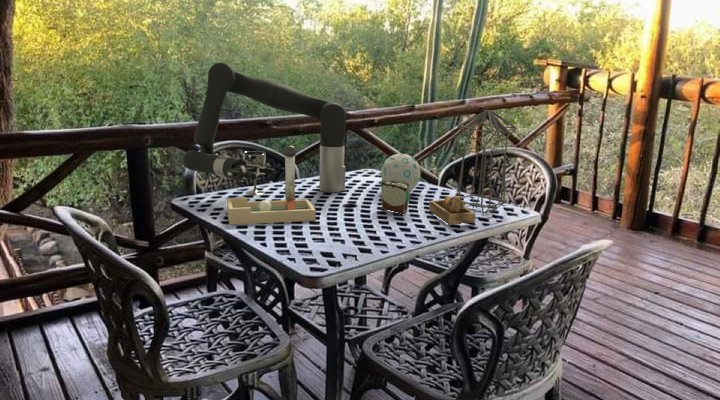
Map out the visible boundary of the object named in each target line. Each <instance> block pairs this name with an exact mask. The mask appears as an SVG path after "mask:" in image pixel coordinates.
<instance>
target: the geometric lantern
mask: <svg viewBox="0 0 720 400" xmlns="http://www.w3.org/2000/svg"><path fill="white" fill-rule="evenodd" d="M487 116H488V120H489V121H488V122H489V124H488V123H485V122H484V121H485V120H486V118H487ZM499 119H500V120H502V122H504V123H506V124H508V125H509V126H505V125H503V124H502V122H501V121H500V120H499ZM470 121H471V122H470ZM468 122H470V123H469V124H468V125H466V123H468ZM482 126H483V127H484V128H485V129H481V127H482ZM456 127H457V128H458V129H459V130H460V131H461V132H463V134H465V140H464V148H463V150H462V151H463V153H462V158H461V159H462V160H461V166H460V172H459V178H458V182H457V183H458V184H457V189H456V195H455V196H460V197H461V200H462V199H466V198H468V197H471V199H472V203H471V202H469V201H468V202H467V201H464V200H462V201H463V202H464V203H465V204H466V205H465V206H464V207H466V208H467V209H469V210H471V211H472V212H474V211H475V212H478V213H482V216H487V217H488V213H490V212H489V211H491V212H493V211H494V212H495V213H496V210H497V209H498V208H500V207H501V206H503V205H505V202H506V160H507V159H506V158H507V157H506V156H507V150H508V139H509V137H510V136H511V135H512V134H513V133H514V132H515V131H516V130H518V129H519V127H517V126H516V125H514V124H513V123H511V122H509V121H508V120H506V119H505V118H503V117H502V116H501V115H499V114H498V113H496V112H495V111H493V110H489V109H485V110H483V112H480V113H479V114H476V115H475V116H472V117H471V118H469V119H467V120H465V121H462V122H461V123H458V124H457V125H456ZM464 129H466V130H464ZM494 129H495V130H494ZM468 131H469V132H468ZM474 132H476V137H474V136H473V135H474ZM483 132H484V133H483ZM479 133H483V134H482V135H478V134H479ZM490 133H491V137H490V138H489V139H488V141H487V142H486V143H485V144H484V145H483V143H482V141H481V139H482V138H483V137H485V136H486V135H488V134H490ZM500 133H501V134H500ZM506 134H507V135H506ZM505 135H506V137H504V136H505ZM494 136H496V137H498V139H499V140H497V141H496V143H495V145H494V146H493V147H492V148H491V147H487V146H488V144H489V143H490V141H491V140H492V139H493V138H494ZM470 140H473V141H474V142H475V145H476V146H475V147H468V148H467V145H468V144H469V142H470ZM476 140H478V142H479V144H480V146H479V145H478V143H477V141H476ZM503 141H505V147H504V146H503ZM499 142H500V145H501V149H500V148H499V149H498V148H495V147H496V146H497V145H498V143H499ZM504 148H505V149H504ZM474 149H476V151H474ZM480 149H482V152H480ZM486 149H487V150H490V152H489V153H487V151H486ZM472 150H473V151H472ZM493 150H494V151H499V152H497V153H492V152H493ZM466 152H469V153H473V154H476V158H475V164H474V169H473V179H472V185H471V192H470V194H468V195H465V196H461V194H462V193H461V191H462V182H463V173H464V165H465V157H466ZM479 154H480V155H481V163H480V175H479V185H478V194H474V187H475V180H476V173H477V172H476V171H477V165H478V160H479ZM501 154H502V155H503V161H502V174H501V189H500V198H497V197H492V196H491V195H492V193H491V192H492V170H493V156H495V155H501ZM487 156H490V160H489V161H490V162H489V163H490V164H489V184H488V185H489V188H488V189H489V190H488V192H489V193H488V196H486V195H484V191H485V189H484V188H485V179H486V177H485V176H486V168H487V167H486V164H487ZM474 197H477V200H476V203H475V200H474ZM484 198H485V199H488V205H485V204H483V202H484V201H483V200H484ZM479 199H480V203H479ZM491 200H496V201H499V202H498V203H494V204H491ZM471 206H472V208H469V207H471ZM473 208H477V209H478V208H480V209H482V211H481V210H477V209H473ZM485 208H487V209H486V211H483V210H484V209H485ZM490 208H491V209H490ZM484 214H485V215H484ZM482 216H481V217H482Z"/></svg>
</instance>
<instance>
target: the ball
mask: <svg viewBox="0 0 720 400" xmlns="http://www.w3.org/2000/svg"><path fill="white" fill-rule="evenodd" d="M269 201H270V200H268V199H267V200H266V199H263V200H261V202H260V203H259V210H260V211H270V210H271V203H270V202H269Z"/></svg>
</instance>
